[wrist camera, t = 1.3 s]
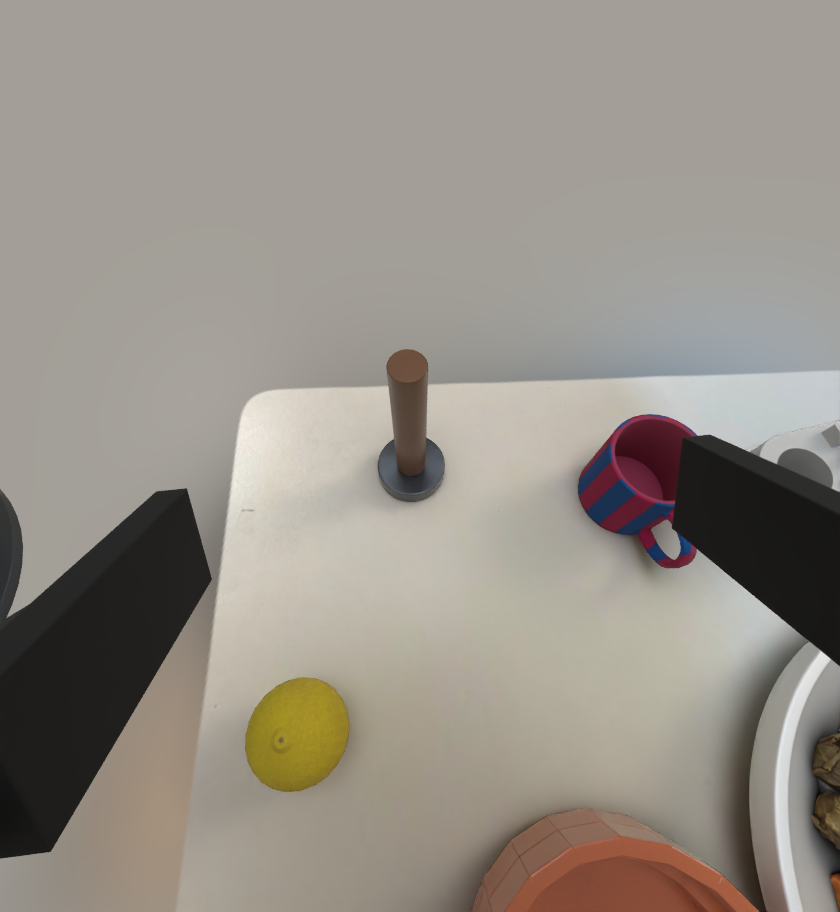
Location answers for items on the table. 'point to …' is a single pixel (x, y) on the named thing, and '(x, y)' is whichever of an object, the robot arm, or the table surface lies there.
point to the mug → (638, 482)
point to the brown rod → (409, 432)
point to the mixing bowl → (602, 870)
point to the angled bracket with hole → (807, 453)
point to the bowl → (798, 787)
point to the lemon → (297, 734)
